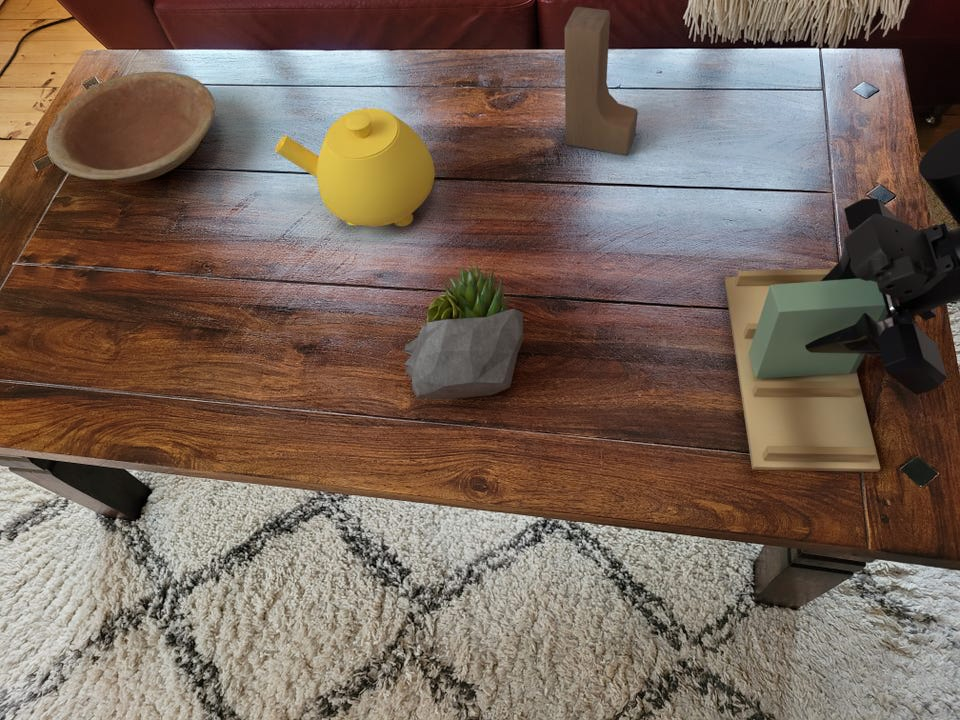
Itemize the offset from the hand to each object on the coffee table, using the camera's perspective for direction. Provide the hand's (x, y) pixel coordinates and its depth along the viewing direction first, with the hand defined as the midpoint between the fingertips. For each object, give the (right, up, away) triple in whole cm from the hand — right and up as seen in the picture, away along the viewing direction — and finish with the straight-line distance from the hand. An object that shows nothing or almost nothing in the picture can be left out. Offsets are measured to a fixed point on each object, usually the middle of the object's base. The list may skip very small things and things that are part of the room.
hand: (803, 327), depth 68 cm
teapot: (-48, +19, +27) cm, 58 cm away
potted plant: (-33, -3, +12) cm, 36 cm away
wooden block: (-15, +28, +28) cm, 42 cm away
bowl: (-82, +27, +37) cm, 94 cm away
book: (+2, -4, +5) cm, 7 cm away
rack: (+2, -4, +7) cm, 8 cm away
